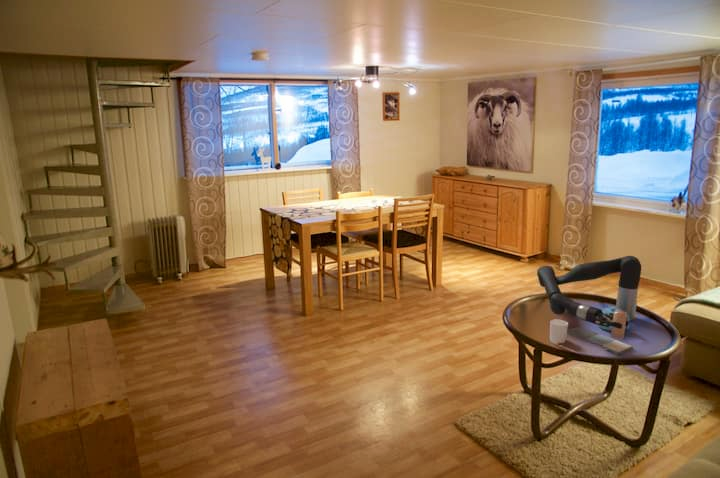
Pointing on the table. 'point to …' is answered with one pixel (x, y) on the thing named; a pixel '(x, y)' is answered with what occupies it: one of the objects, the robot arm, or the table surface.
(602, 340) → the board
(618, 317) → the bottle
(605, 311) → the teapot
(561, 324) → the white cup
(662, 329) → the table surface
